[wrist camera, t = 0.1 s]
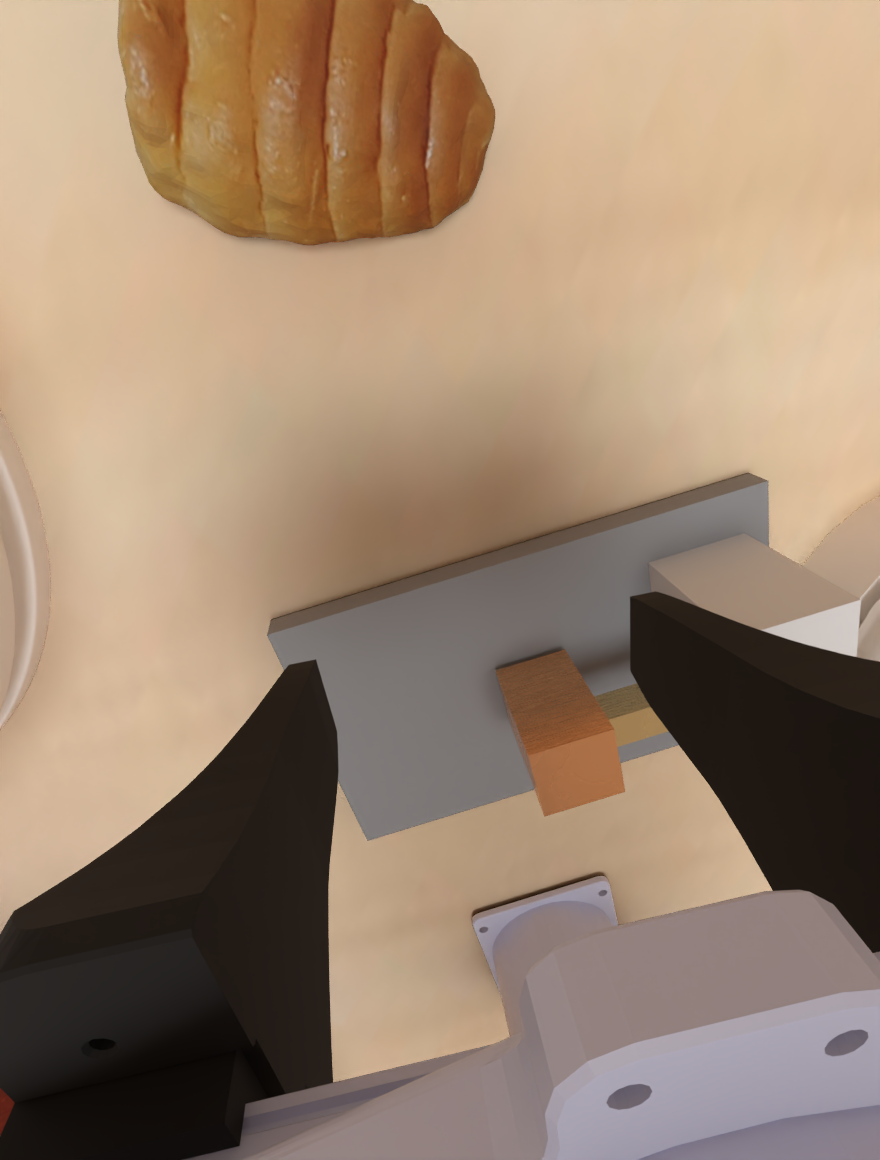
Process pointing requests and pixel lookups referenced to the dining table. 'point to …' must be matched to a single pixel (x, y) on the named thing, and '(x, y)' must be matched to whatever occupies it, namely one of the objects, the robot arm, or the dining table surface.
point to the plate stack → (20, 577)
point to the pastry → (304, 114)
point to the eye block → (534, 641)
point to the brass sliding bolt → (572, 730)
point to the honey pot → (856, 569)
